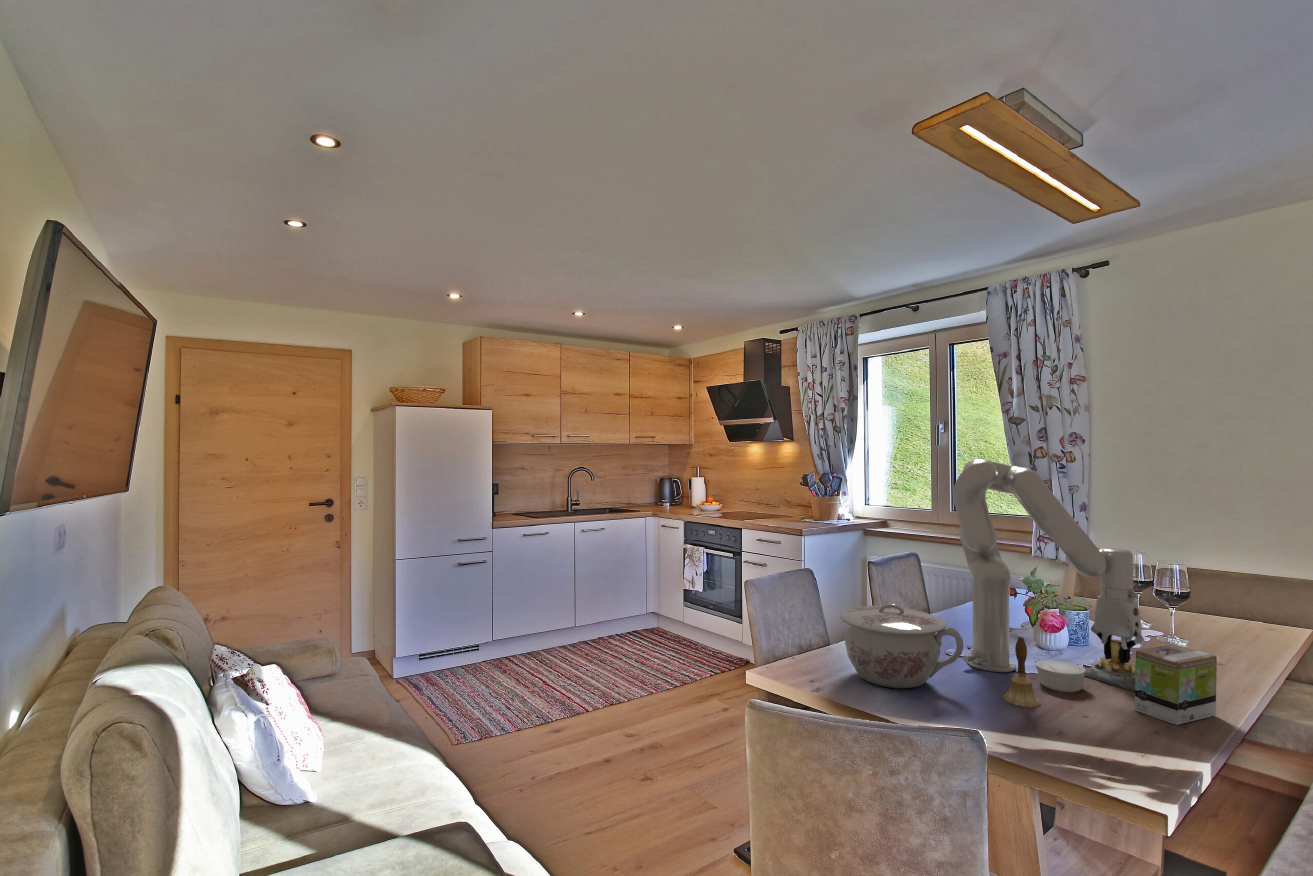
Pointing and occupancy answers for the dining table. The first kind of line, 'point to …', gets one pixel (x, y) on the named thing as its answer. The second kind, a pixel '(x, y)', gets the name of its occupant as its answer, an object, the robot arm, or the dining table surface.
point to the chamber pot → (896, 644)
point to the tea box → (1175, 684)
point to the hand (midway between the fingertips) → (1116, 660)
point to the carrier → (1111, 677)
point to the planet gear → (1116, 659)
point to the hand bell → (1021, 681)
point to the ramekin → (1061, 675)
